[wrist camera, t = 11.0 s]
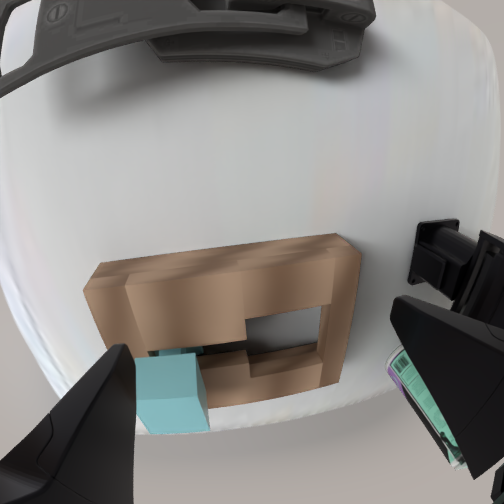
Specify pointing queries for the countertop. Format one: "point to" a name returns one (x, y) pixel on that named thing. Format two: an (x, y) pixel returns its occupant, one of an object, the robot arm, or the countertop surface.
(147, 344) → the keyhole plate
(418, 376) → the spray can
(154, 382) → the teal peg
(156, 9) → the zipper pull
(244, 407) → the countertop surface
